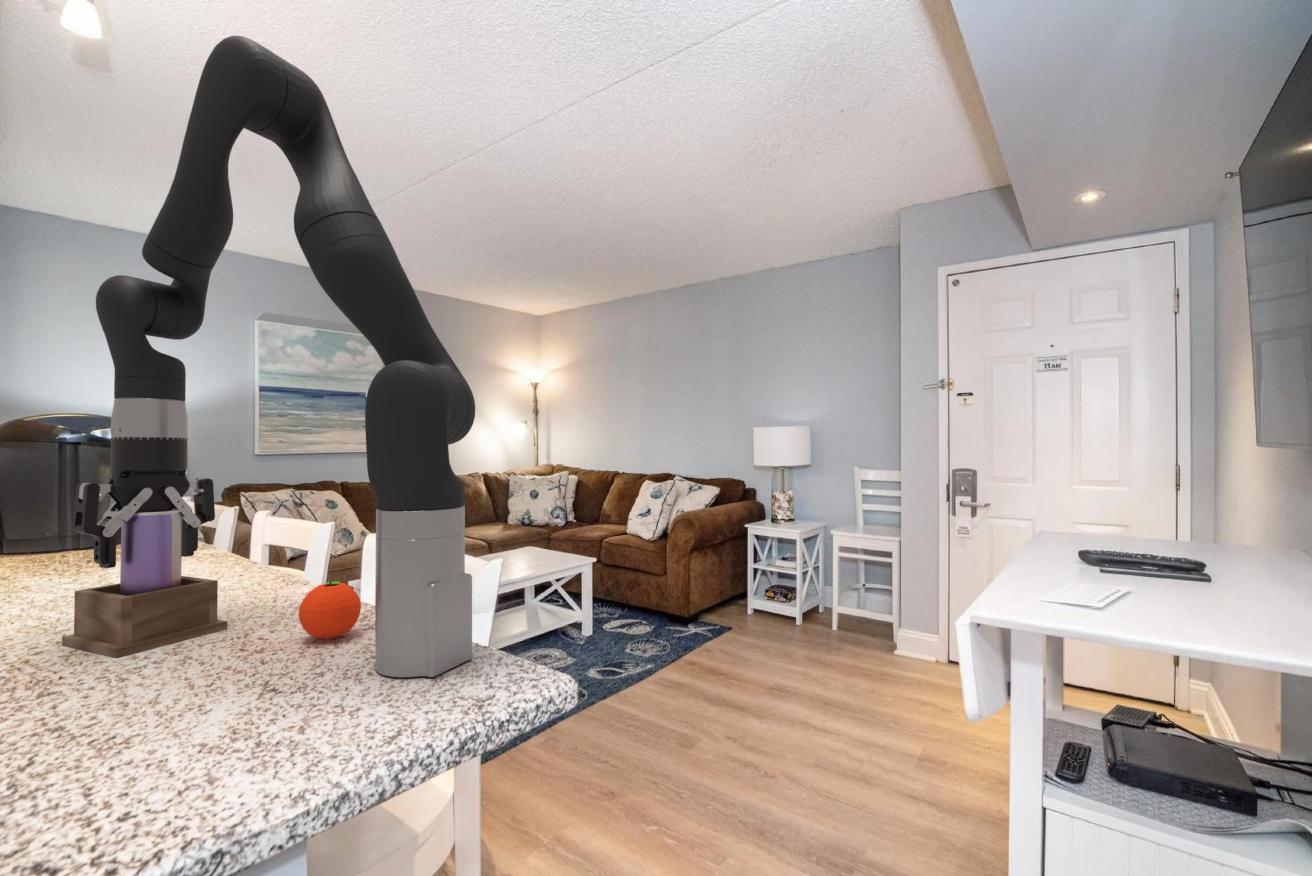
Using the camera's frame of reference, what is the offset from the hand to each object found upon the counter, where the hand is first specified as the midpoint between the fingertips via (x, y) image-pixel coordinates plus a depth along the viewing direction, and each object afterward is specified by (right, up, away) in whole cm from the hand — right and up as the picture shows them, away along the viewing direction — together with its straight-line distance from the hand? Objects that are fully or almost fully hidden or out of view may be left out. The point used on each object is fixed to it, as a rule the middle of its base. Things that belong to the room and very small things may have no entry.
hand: (149, 561), depth 76 cm
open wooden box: (0, -10, 0) cm, 10 cm away
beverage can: (0, -9, 0) cm, 9 cm away
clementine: (+24, -10, -1) cm, 26 cm away
